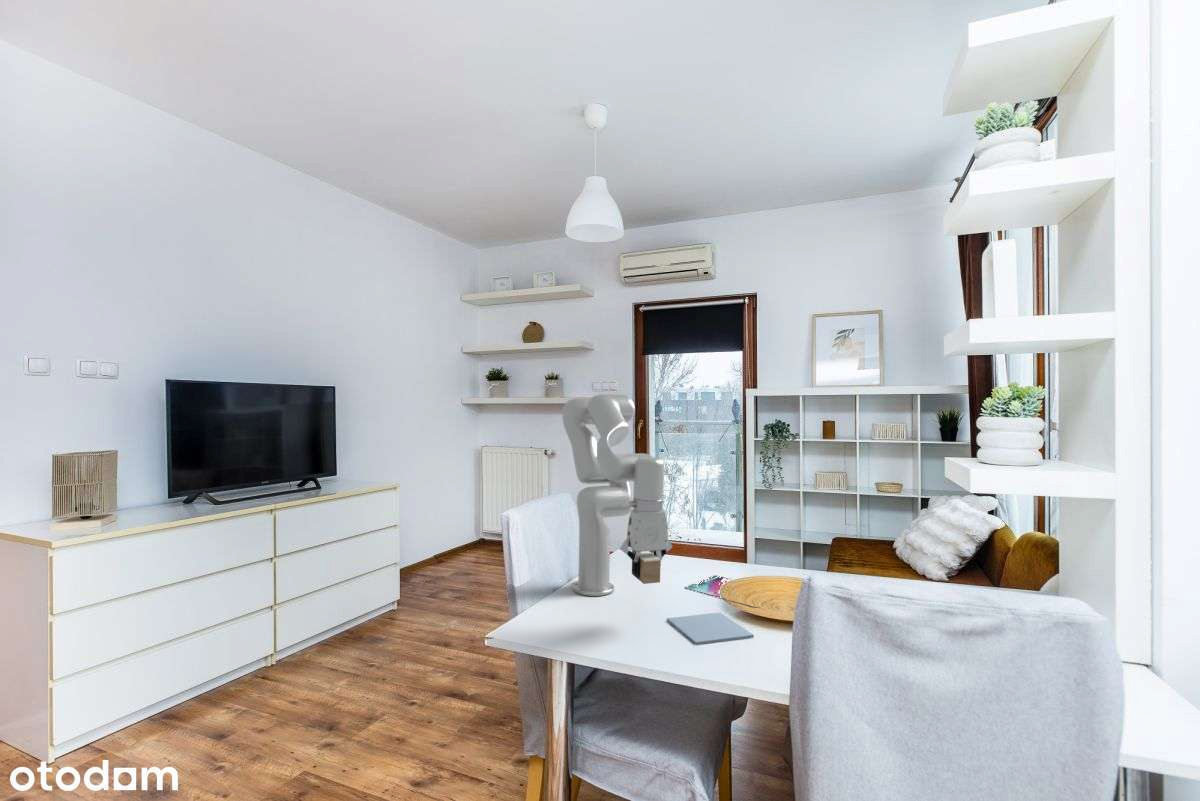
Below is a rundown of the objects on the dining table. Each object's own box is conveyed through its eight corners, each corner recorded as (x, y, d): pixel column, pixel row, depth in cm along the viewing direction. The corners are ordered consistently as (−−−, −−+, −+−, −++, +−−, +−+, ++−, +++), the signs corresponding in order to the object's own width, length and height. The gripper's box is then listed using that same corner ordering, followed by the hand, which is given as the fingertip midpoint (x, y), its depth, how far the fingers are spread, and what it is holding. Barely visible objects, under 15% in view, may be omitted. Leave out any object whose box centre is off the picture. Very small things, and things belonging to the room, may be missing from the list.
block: (631, 573, 153) (632, 551, 153) (647, 572, 154) (648, 550, 154) (643, 583, 145) (644, 560, 145) (659, 582, 147) (660, 559, 146)
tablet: (714, 577, 195) (714, 574, 195) (785, 594, 178) (785, 591, 178) (682, 590, 180) (682, 587, 180) (756, 609, 164) (756, 606, 164)
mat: (667, 620, 153) (667, 618, 153) (720, 614, 158) (720, 612, 158) (696, 644, 138) (696, 642, 138) (753, 637, 143) (753, 634, 143)
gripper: (622, 509, 143) (620, 582, 143) (684, 507, 148) (681, 577, 149) (612, 503, 150) (610, 573, 150) (671, 501, 156) (668, 568, 156)
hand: (645, 574), depth 150 cm, fingers closed on block, 4 cm apart
